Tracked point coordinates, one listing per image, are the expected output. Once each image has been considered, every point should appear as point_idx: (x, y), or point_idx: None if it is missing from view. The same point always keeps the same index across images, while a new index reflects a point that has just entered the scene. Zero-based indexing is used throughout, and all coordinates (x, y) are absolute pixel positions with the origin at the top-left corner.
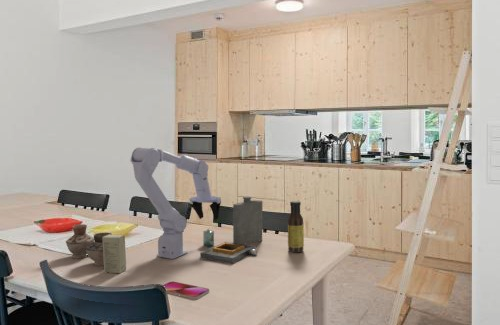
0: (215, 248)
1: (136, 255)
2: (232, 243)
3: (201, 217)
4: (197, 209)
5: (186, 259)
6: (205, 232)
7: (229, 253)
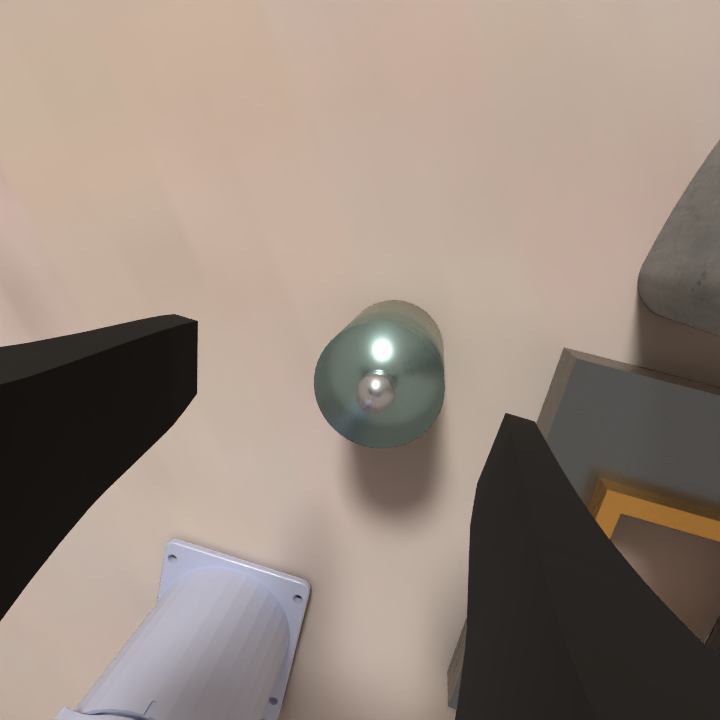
0: None
1: (33, 659)
2: (669, 405)
3: (187, 379)
4: (39, 551)
5: (364, 703)
6: (358, 440)
7: None
